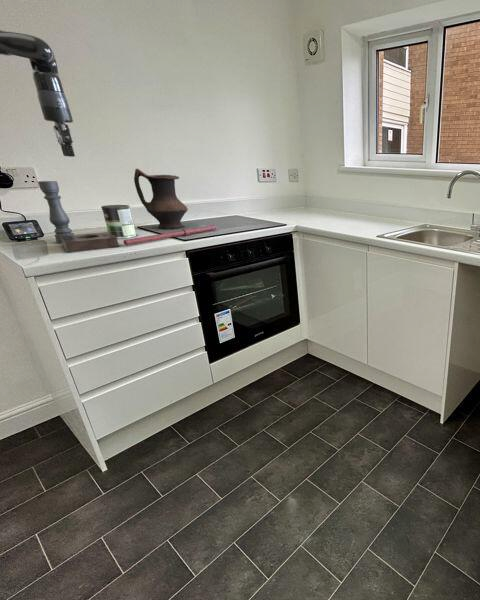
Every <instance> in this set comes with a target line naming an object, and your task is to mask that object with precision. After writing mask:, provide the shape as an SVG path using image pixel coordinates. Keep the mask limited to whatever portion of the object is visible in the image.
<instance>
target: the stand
mask: <svg viewBox="0 0 480 600" xmlns="http://www.w3.org/2000/svg"><path fill="white" fill-rule="evenodd" d="M60 238H61V241H62V243H61V244H62V247H64V249H65V250H66V252H67V253H76V252H84V251H94V250H102V249H111V248H119V247H120V245H119V241H118V239H117V238H116V237H115V236H114V235H112V234H111V233H109V232H108V231H102V232H90V233H80V234H79V233H77V234H74V235H66V236H60Z"/></svg>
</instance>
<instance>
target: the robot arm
mask: <svg viewBox="0 0 480 600" xmlns="http://www.w3.org/2000/svg"><path fill="white" fill-rule="evenodd" d="M0 55H1V56H7V57H12V56H16V57H20V58H24V59H28V60H29V64H30V67H31V70H32V79H33V82H34V86H35V89H36V93H37V94H36V95H37V100H38V103H39V107H40V110H41V113H42V117H43V119H44V121H46V122H53V123H54V125H53V127H52V128H53V132H54V133H55V138H56V141H57V142H58V144H59V146H60V148H61V152H62V155H63V156H64V157H70V158H71V157H72V158H73V157H75V156H76V155H75V151H74V148H73V144H74V143H73V142H74V141H73V138H72V134H71V130H70V128H69V125H68V123H69V124H71V123H74V119H73V116H72V112H71V109H70V105H69V102H68V99H67V96H66V94H65V91H64V87H63V83H62V81H61V78H60V75H59V69H58V65H57V60H56V55H55V53H54V51H53V50H52V48H51V46H50V44H48V43H47V42H46V41H45V40H44V39H42V38H40V37H38V36H35V35H31V34H26V33H21V32H16V31H7V30H2V29H0ZM66 123H67V124H66Z"/></svg>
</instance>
